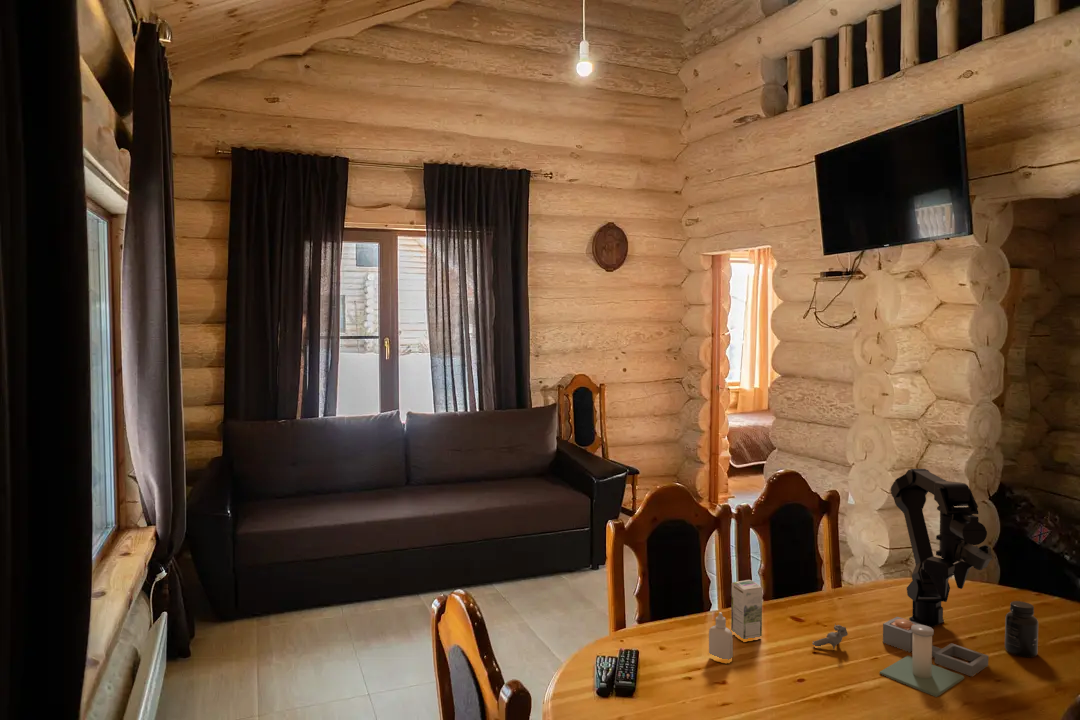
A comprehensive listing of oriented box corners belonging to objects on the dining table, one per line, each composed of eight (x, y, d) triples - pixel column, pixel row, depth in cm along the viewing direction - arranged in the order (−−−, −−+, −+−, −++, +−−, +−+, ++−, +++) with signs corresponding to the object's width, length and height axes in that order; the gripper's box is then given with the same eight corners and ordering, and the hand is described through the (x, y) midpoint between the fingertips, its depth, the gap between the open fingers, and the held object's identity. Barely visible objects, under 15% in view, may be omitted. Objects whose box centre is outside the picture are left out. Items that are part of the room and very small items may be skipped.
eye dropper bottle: (721, 653, 183) (721, 607, 182) (735, 663, 178) (734, 615, 177) (706, 656, 181) (706, 609, 181) (719, 667, 176) (719, 618, 175)
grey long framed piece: (881, 643, 187) (881, 624, 186) (898, 634, 191) (898, 615, 191) (971, 676, 169) (972, 655, 169) (988, 665, 174) (988, 645, 174)
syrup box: (749, 631, 195) (749, 578, 194) (762, 640, 190) (762, 586, 189) (730, 634, 193) (730, 581, 192) (743, 644, 188) (743, 589, 187)
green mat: (879, 674, 171) (879, 671, 171) (907, 657, 179) (907, 655, 179) (936, 697, 161) (936, 694, 161) (964, 678, 168) (964, 676, 168)
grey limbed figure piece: (807, 639, 190) (840, 627, 190) (819, 662, 186) (852, 649, 186) (808, 628, 182) (842, 615, 182) (820, 652, 179) (855, 639, 178)
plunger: (890, 642, 187) (890, 621, 186) (899, 638, 189) (899, 617, 189) (907, 649, 183) (907, 627, 183) (916, 644, 186) (916, 622, 185)
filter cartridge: (906, 673, 170) (907, 628, 169) (916, 667, 173) (917, 622, 172) (926, 680, 166) (927, 634, 166) (936, 674, 169) (937, 629, 168)
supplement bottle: (1042, 659, 177) (1044, 611, 176) (1011, 657, 178) (1012, 609, 177) (1030, 646, 183) (1031, 599, 182) (999, 644, 185) (1000, 598, 184)
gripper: (969, 548, 172) (968, 612, 174) (1003, 532, 183) (1002, 593, 184) (921, 536, 181) (920, 598, 183) (957, 522, 192) (956, 580, 193)
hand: (951, 592), depth 185 cm, fingers open, 9 cm apart
